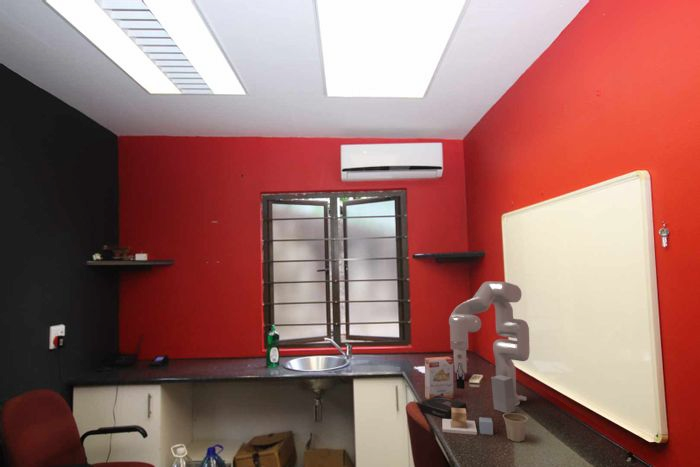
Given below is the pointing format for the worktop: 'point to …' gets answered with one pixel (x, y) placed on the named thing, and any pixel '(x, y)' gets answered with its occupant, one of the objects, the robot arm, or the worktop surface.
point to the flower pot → (515, 426)
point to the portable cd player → (440, 406)
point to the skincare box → (503, 394)
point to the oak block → (459, 417)
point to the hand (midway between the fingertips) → (460, 385)
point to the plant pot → (454, 368)
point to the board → (469, 430)
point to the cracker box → (439, 377)
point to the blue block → (485, 425)
